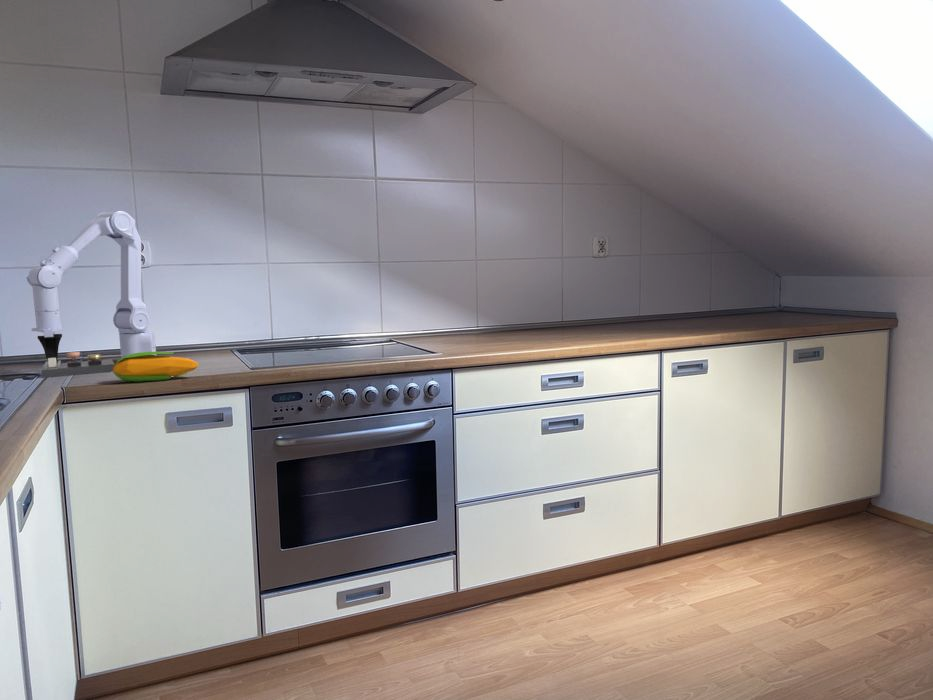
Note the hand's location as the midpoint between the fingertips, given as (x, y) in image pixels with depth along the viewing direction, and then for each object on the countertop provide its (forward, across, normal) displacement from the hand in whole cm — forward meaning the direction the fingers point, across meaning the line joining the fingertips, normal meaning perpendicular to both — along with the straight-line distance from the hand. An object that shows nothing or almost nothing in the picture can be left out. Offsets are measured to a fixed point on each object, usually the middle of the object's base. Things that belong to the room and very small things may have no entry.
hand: (52, 361), depth 187 cm
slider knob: (+1, +2, 0) cm, 2 cm away
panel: (+3, 0, +6) cm, 7 cm away
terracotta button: (0, 0, +5) cm, 5 cm away
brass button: (+1, 0, +10) cm, 10 cm away
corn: (+4, +27, +23) cm, 36 cm away
